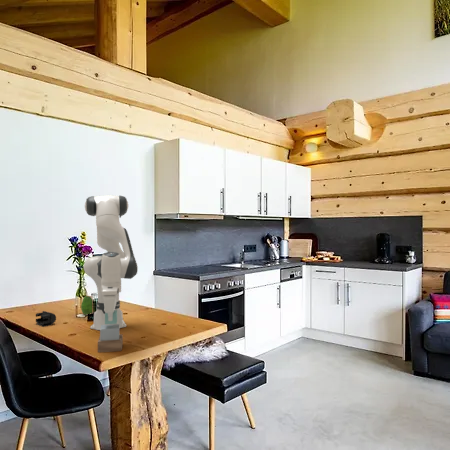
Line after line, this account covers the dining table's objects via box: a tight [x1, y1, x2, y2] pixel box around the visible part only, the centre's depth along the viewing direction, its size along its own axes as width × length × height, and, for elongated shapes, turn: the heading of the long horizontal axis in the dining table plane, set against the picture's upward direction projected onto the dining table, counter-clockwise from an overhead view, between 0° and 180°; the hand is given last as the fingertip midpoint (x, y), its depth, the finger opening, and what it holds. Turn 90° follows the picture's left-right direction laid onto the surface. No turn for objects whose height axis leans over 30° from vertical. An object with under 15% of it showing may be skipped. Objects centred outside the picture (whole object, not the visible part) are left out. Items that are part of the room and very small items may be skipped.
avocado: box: [80, 295, 93, 316], centre depth 245 cm, size 8×8×12 cm
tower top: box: [99, 324, 120, 341], centre depth 177 cm, size 8×8×5 cm
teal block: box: [105, 310, 117, 324], centre depth 178 cm, size 5×5×5 cm
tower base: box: [97, 333, 124, 353], centre depth 177 cm, size 10×10×5 cm
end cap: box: [35, 310, 57, 328], centre depth 221 cm, size 10×7×7 cm
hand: (111, 319), depth 177 cm, fingers closed on teal block, 5 cm apart
